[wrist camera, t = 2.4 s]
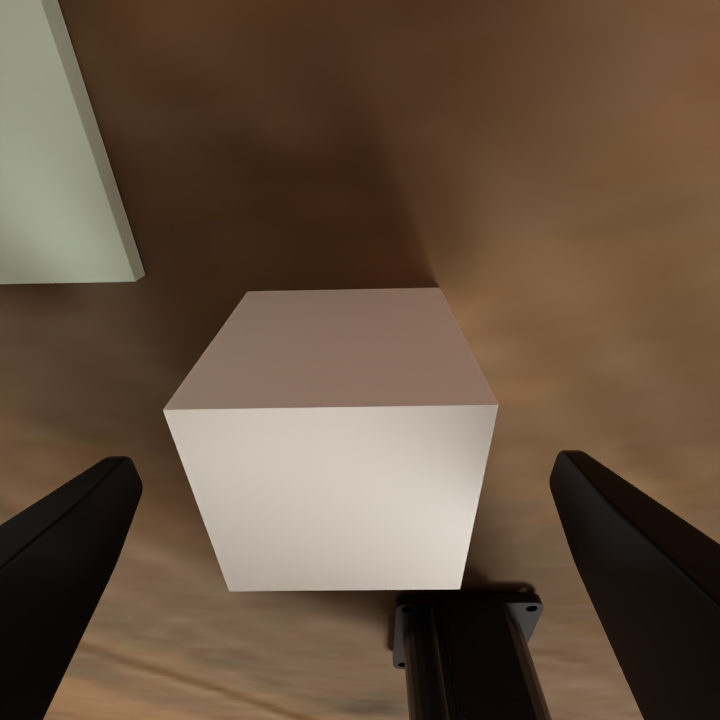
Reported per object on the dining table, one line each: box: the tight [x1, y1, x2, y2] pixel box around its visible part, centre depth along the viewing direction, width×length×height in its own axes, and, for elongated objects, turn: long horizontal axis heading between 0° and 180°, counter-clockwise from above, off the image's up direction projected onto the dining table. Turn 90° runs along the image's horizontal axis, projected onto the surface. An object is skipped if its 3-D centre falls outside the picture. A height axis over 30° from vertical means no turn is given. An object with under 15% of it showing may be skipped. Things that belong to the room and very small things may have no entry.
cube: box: [163, 288, 498, 591], centre depth 9 cm, size 5×5×5 cm
